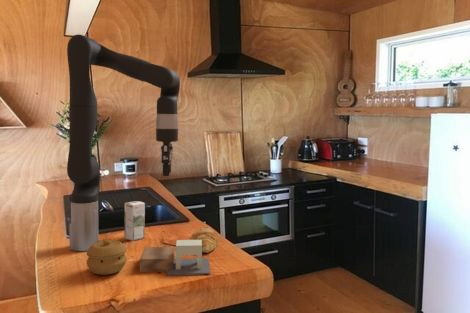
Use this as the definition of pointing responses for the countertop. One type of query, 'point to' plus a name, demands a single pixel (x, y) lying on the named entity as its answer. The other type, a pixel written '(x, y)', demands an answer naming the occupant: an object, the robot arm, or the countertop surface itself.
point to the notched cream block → (189, 251)
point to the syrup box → (134, 220)
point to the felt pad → (190, 267)
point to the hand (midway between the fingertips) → (166, 174)
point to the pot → (106, 257)
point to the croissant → (206, 239)
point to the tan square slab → (157, 259)
